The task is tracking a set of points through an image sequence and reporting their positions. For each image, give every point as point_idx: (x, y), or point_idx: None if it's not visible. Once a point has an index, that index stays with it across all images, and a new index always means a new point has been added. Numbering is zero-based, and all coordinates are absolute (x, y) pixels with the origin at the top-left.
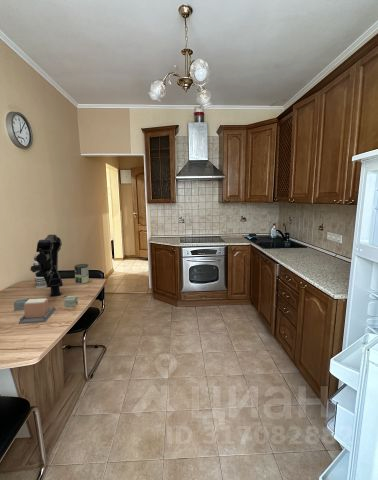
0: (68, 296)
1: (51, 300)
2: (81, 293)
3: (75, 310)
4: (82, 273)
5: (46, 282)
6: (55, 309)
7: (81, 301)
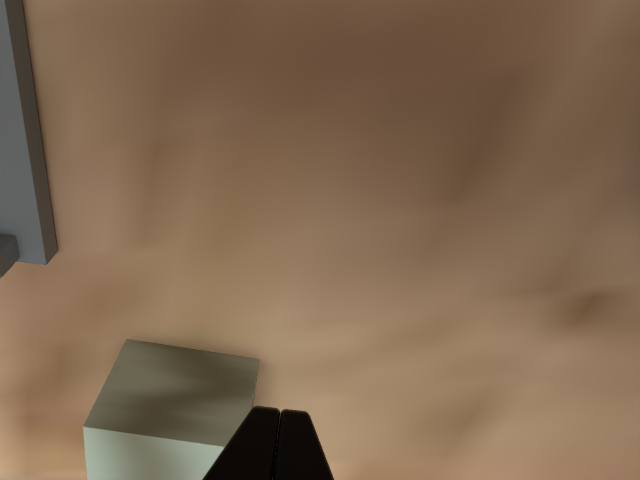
0: None
1: (482, 128)
2: (598, 464)
3: (23, 438)
4: None
5: (207, 474)
6: (56, 251)
7: None
